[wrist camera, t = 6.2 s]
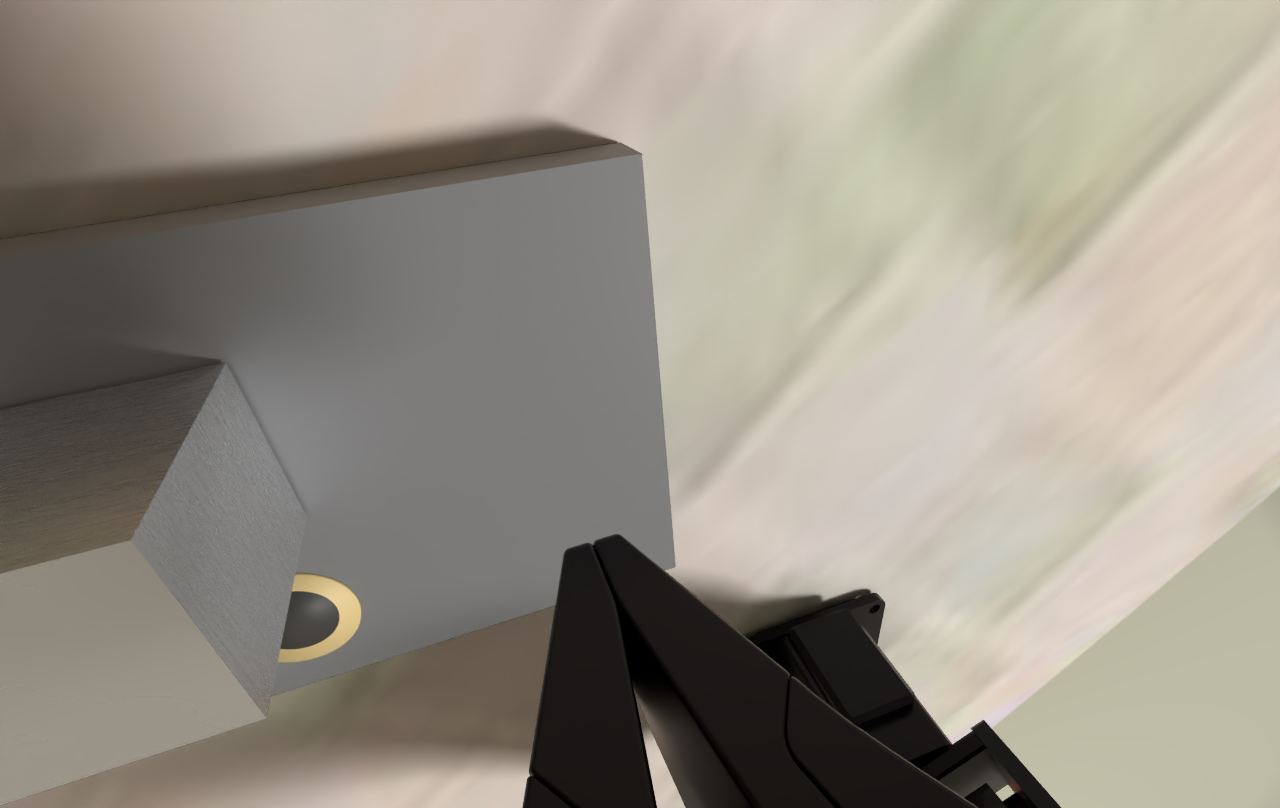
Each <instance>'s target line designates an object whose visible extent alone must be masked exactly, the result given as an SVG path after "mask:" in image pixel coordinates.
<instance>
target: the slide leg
mask: <svg viewBox="0 0 1280 808" xmlns="http://www.w3.org/2000/svg"><path fill="white" fill-rule="evenodd" d="M306 518H307V516H306V514H305V512H304V510H303V508H302V507H301V505H300V503H299V501H298V499H297V497H296V495H295V493H294V491H293V489H292V487H291V486H290V484H289V482H288V480H287V478H286V476H285V474H284V472H283V470H282V468H281V466H280V465H279V463H278V461H277V459H276V457H275V455H274V453H273V451H272V449H271V447H270V445H269V444H268V442H267V440H266V438H265V436H264V434H263V432H262V430H261V428H260V426H259V424H258V423H257V421H256V419H255V417H254V415H253V413H252V411H251V409H250V407H249V405H248V404H247V402H246V400H245V398H244V396H243V394H242V392H241V390H240V388H239V386H238V384H237V383H236V381H235V379H234V377H233V375H232V373H231V371H230V369H229V367H228V365H227V363H221V364H216V365H211V366H207V367H202V368H197V369H192V370H187V371H183V372H178V373H173V374H168V375H163V376H158V377H154V378H149V379H144V380H139V381H134V382H129V383H125V384H120V385H115V386H110V387H105V388H101V389H96V390H91V391H86V392H81V393H76V394H72V395H67V396H62V397H57V398H52V399H47V400H43V401H38V402H33V403H28V404H23V405H19V406H14V407H9V408H4V409H0V805H3V804H6V803H9V802H12V801H15V800H18V799H21V798H24V797H27V796H30V795H33V794H37V793H40V792H43V791H46V790H49V789H52V788H55V787H58V786H61V785H64V784H67V783H70V782H73V781H76V780H79V779H82V778H86V777H89V776H92V775H95V774H98V773H101V772H104V771H107V770H110V769H113V768H116V767H119V766H122V765H125V764H128V763H131V762H134V761H138V760H141V759H144V758H147V757H150V756H153V755H156V754H159V753H162V752H165V751H168V750H171V749H174V748H177V747H180V746H183V745H187V744H190V743H193V742H196V741H199V740H202V739H205V738H208V737H211V736H214V735H217V734H220V733H223V732H226V731H229V730H232V729H236V728H239V727H242V726H245V725H248V724H251V723H254V722H257V721H260V720H263V719H266V718H267V713H268V708H269V703H270V698H271V693H272V688H273V683H274V678H275V673H276V668H277V663H278V658H279V653H280V648H281V643H282V638H283V633H284V628H285V623H286V618H287V613H288V608H289V603H290V598H291V593H292V588H293V583H294V578H295V573H296V568H297V563H298V558H299V553H300V548H301V543H302V538H303V533H304V528H305V523H306Z"/></svg>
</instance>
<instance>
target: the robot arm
mask: <svg viewBox="0 0 1280 808" xmlns="http://www.w3.org/2000/svg"><path fill="white" fill-rule="evenodd" d="M884 608H885V602H884V601H883V599H882V598H881V597H880V596H879V595H878V594H877V593H871V594H868V595H865V596H862V597H859V598H857V599H854V600H851V601H848V602H845V603H843V604H840V605H837V606H834V607H831V608H829V609H826V610H823V611H820V612H817V613H815V614H812V615H809V616H806V617H803V618H800V619H798V620H795V621H792V622H789V623H786V624H784V625H781V626H778V627H775V628H772V629H770V630H767V631H764V632H761V633H758V634H756V635H753V636H750V637H748V638H746V637H745V636H743V635H742V634H741V633H740V632H739V631H737V630H736V629H735V628H734V627H733V626H731V625H730V624H729V623H728V622H726V621H725V620H724V619H723V618H722V617H720V616H719V615H718V614H717V613H715V612H714V611H713V610H712V609H711V608H709V607H708V606H707V605H706V604H705V603H703V602H702V601H701V600H700V599H698V598H697V597H696V596H695V595H694V594H692V593H691V592H690V591H689V590H688V589H686V588H685V587H684V586H683V585H681V584H680V583H679V582H678V581H677V580H675V579H674V578H673V577H672V576H670V575H669V574H668V573H667V572H666V571H664V570H663V569H662V568H661V567H660V566H658V565H657V564H656V563H655V562H653V561H652V560H651V559H650V558H649V557H647V556H646V555H645V554H644V553H642V552H641V551H640V550H639V549H638V548H636V547H635V546H634V545H633V544H632V543H630V542H629V541H628V540H627V539H625V538H624V537H623V536H622V535H620V534H614V535H610V536H607V537H604V538H600V539H597V540H595V541H594V543H593V545H592V544H591V543H589V542H588V543H584V544H581V545H577V546H574V547H571V548H568V549H566V550H565V552H564V555H563V561H562V567H561V574H560V580H559V586H558V592H557V599H556V605H555V611H554V617H553V624H552V630H551V636H550V642H549V649H548V655H547V661H546V667H545V674H544V680H543V686H542V692H541V699H540V705H539V711H538V717H537V723H536V730H535V736H534V742H533V748H532V755H531V761H530V767H529V774H530V777H528V779H527V784H526V790H525V796H524V802H523V808H657V805H656V800H655V795H654V790H653V785H652V779H651V774H650V769H649V764H648V759H647V754H646V748H645V743H644V738H643V733H642V728H641V723H640V718H639V712H638V707H637V702H636V698H637V700H638V703H639V705H640V707H641V709H642V711H643V714H644V716H645V718H646V720H647V723H648V725H649V727H650V729H651V731H652V734H653V736H654V738H655V740H656V743H657V745H658V747H659V749H660V751H661V754H662V756H663V758H664V760H665V763H666V765H667V767H668V769H669V771H670V774H671V776H672V778H673V780H674V783H675V785H676V787H677V789H678V791H679V794H680V796H681V798H682V800H683V803H684V805H685V807H686V808H1061V807H1060V806H1059V805H1058V804H1057V802H1056V801H1055V800H1054V799H1053V798H1052V797H1051V796H1050V795H1049V794H1048V792H1047V791H1046V790H1045V789H1044V788H1043V787H1042V785H1041V784H1040V783H1039V782H1038V781H1037V780H1036V779H1035V777H1034V776H1033V775H1032V774H1031V773H1030V772H1029V771H1028V770H1027V768H1026V767H1025V766H1024V765H1023V764H1022V763H1021V762H1020V761H1019V759H1018V758H1017V757H1016V756H1015V755H1014V754H1013V753H1012V751H1011V750H1010V749H1009V748H1008V747H1007V746H1006V745H1005V743H1004V742H1003V741H1002V740H1001V739H1000V738H999V737H998V736H997V734H996V733H995V732H994V731H993V730H992V729H991V728H990V726H989V725H988V724H987V723H986V722H985V721H984V720H982V721H981V722H979V723H978V724H976V725H975V726H973V727H972V728H971V730H972V732H970V733H969V734H967V735H966V736H964V737H963V738H961V739H960V740H959V741H957V742H956V743H954V744H953V745H952V743H951V742H950V741H949V739H948V738H947V737H946V735H945V734H944V733H943V731H942V730H941V729H940V727H939V726H938V725H937V724H936V722H935V721H934V720H933V718H932V717H931V716H930V714H929V713H928V712H927V711H926V709H925V708H924V707H923V705H922V704H921V703H920V701H919V700H918V699H917V697H916V696H915V694H914V692H913V691H912V689H911V688H910V687H909V686H908V684H907V683H906V682H905V680H904V679H903V678H902V676H901V675H900V674H899V673H898V671H897V670H896V669H895V667H894V666H893V665H892V663H891V662H890V661H889V660H888V658H887V657H886V656H885V654H884V653H883V652H882V650H881V649H880V648H879V646H878V645H877V643H878V638H879V633H880V628H881V623H882V618H883V613H884ZM635 695H636V697H635ZM1006 785H1009V786H1010V788H1011V789H1012V790H1013V791H1014V794H1013V795H1011V796H1010V797H1008V798H1007V799H1005V800H1004V801H1001V800H1000V798H999V797H998V796H997V795H996V792H997V791H999V790H1000V789H1002V788H1003V787H1005V786H1006Z"/></svg>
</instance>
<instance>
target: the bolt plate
mask: <svg viewBox="0 0 1280 808" xmlns="http://www.w3.org/2000/svg"><path fill="white" fill-rule="evenodd" d="M221 363H227V365H228V367H229V369H230V371H231V373H232V375H233V377H234V379H235V381H236V383H237V384H238V386H239V388H240V390H241V392H242V394H243V396H244V398H245V400H246V402H247V404H248V405H249V407H250V409H251V411H252V413H253V415H254V417H255V419H256V421H257V423H258V424H259V426H260V428H261V430H262V432H263V434H264V436H265V438H266V440H267V442H268V444H269V445H270V447H271V449H272V451H273V453H274V455H275V457H276V459H277V461H278V463H279V465H280V466H281V468H282V470H283V472H284V474H285V476H286V478H287V480H288V482H289V484H290V486H291V487H292V489H293V491H294V493H295V495H296V497H297V499H298V501H299V503H300V505H301V507H302V508H303V510H304V512H305V514H306V516H307V518H306V523H305V528H304V533H303V538H302V543H301V548H300V553H299V558H298V563H297V568H296V573H295V578H294V583H293V588H292V593H291V598H290V603H289V608H288V613H287V618H286V623H285V628H284V633H283V638H282V643H281V648H280V653H279V658H278V663H277V668H276V673H275V678H274V683H273V688H272V693H271V696H274V695H277V694H280V693H283V692H286V691H289V690H292V689H295V688H299V687H302V686H305V685H308V684H311V683H314V682H317V681H320V680H324V679H327V678H330V677H333V676H336V675H339V674H342V673H345V672H349V671H352V670H355V669H358V668H361V667H364V666H367V665H370V664H374V663H377V662H380V661H383V660H386V659H389V658H392V657H395V656H399V655H402V654H405V653H408V652H411V651H414V650H417V649H420V648H424V647H427V646H430V645H433V644H436V643H439V642H442V641H445V640H449V639H452V638H455V637H458V636H461V635H464V634H467V633H470V632H474V631H477V630H480V629H483V628H486V627H489V626H492V625H495V624H499V623H502V622H505V621H508V620H511V619H514V618H517V617H520V616H524V615H527V614H530V613H533V612H536V611H539V610H542V609H545V608H549V607H552V606H555V605H556V599H557V592H558V586H559V580H560V574H561V567H562V561H563V555H564V552H565V550H566V549H568V548H571V547H574V546H577V545H581V544H584V543H588V542H589V543H591V544H592V545H593V543H594V541H595V540H597V539H600V538H604V537H607V536H610V535H614V534H620V535H622V536H623V537H624V538H625V539H627V540H628V541H629V542H630V543H632V544H633V545H634V546H635V547H636V548H638V549H639V550H640V551H641V552H642V553H644V554H645V555H646V556H647V557H649V558H650V559H651V560H652V561H653V562H655V563H656V564H657V565H658V566H660V567H661V568H662V569H663V570H667V569H671V568H674V567H675V555H674V542H673V530H672V518H671V506H670V493H669V481H668V469H667V457H666V444H665V432H664V420H663V408H662V396H661V383H660V371H659V359H658V347H657V334H656V322H655V310H654V298H653V286H652V273H651V261H650V249H649V237H648V224H647V212H646V200H645V188H644V175H643V163H642V154H641V153H639V152H638V151H636V150H634V149H632V148H630V147H628V146H626V145H624V144H622V143H613V144H607V145H601V146H594V147H588V148H581V149H575V150H569V151H562V152H556V153H549V154H543V155H537V156H530V157H524V158H517V159H511V160H504V161H498V162H492V163H485V164H479V165H472V166H466V167H460V168H453V169H447V170H440V171H434V172H428V173H421V174H415V175H408V176H402V177H395V178H389V179H383V180H376V181H370V182H363V183H357V184H351V185H344V186H338V187H331V188H325V189H319V190H312V191H306V192H299V193H293V194H287V195H280V196H274V197H267V198H261V199H254V200H248V201H242V202H235V203H229V204H222V205H216V206H210V207H203V208H197V209H190V210H184V211H178V212H171V213H165V214H158V215H152V216H145V217H139V218H133V219H126V220H120V221H113V222H107V223H101V224H94V225H88V226H81V227H75V228H69V229H62V230H56V231H49V232H43V233H37V234H30V235H24V236H17V237H11V238H4V239H0V409H4V408H9V407H14V406H19V405H23V404H28V403H33V402H38V401H43V400H47V399H52V398H57V397H62V396H67V395H72V394H76V393H81V392H86V391H91V390H96V389H101V388H105V387H110V386H115V385H120V384H125V383H129V382H134V381H139V380H144V379H149V378H154V377H158V376H163V375H168V374H173V373H178V372H183V371H187V370H192V369H197V368H202V367H207V366H211V365H216V364H221Z"/></svg>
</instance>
